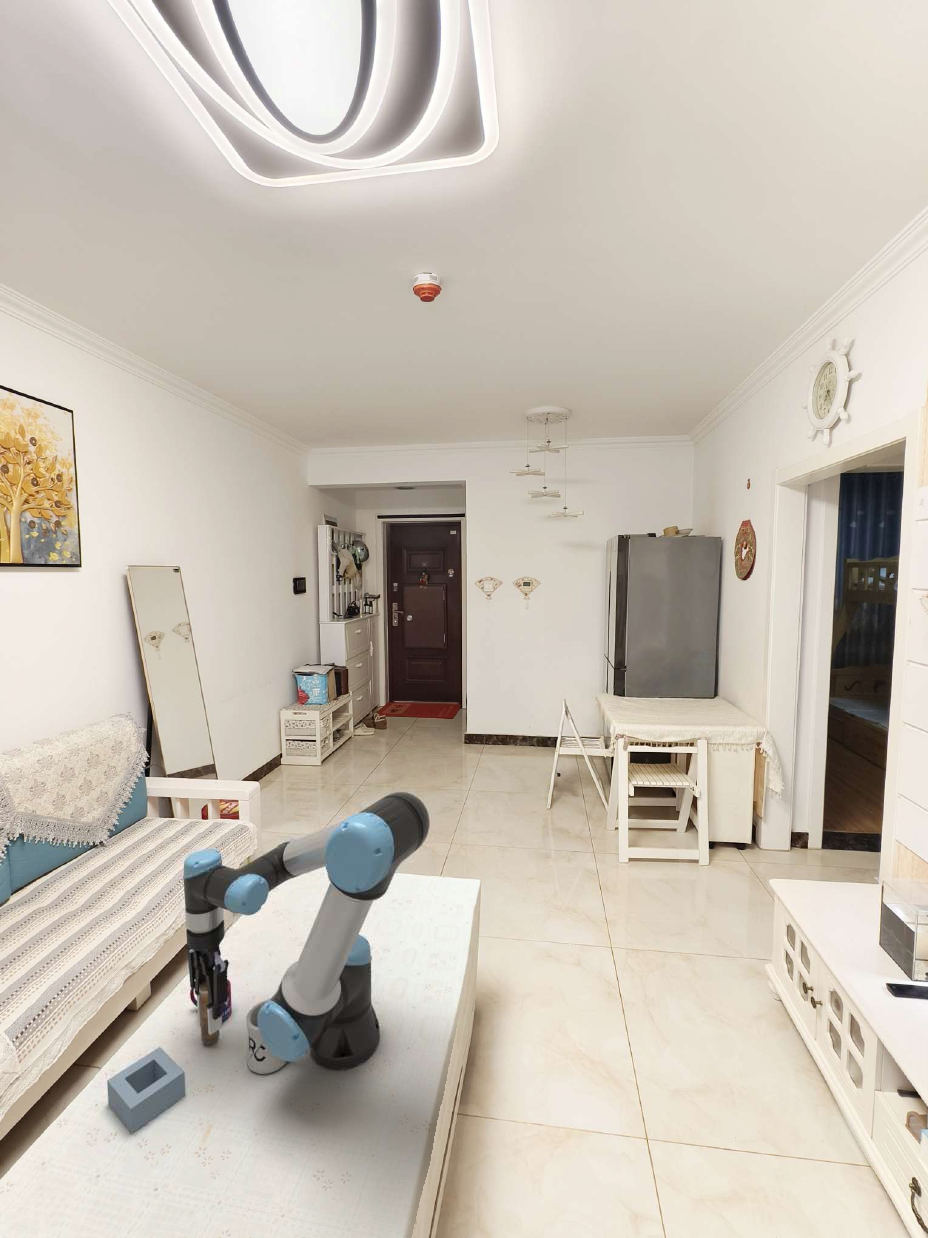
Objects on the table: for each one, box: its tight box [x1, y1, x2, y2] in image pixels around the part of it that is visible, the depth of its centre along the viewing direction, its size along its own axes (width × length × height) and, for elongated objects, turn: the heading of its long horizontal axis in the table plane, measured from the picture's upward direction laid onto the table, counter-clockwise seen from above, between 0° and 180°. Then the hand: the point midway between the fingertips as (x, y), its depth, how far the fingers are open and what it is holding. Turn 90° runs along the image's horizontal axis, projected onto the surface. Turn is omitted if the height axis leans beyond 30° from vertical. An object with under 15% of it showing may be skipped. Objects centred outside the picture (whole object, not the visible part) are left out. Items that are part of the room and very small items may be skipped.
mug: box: [245, 998, 288, 1075], centre depth 123 cm, size 12×9×10 cm
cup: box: [189, 978, 232, 1023], centre depth 136 cm, size 7×10×7 cm
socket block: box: [106, 1046, 186, 1135], centre depth 113 cm, size 10×10×5 cm
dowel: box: [199, 981, 220, 1044], centre depth 127 cm, size 4×4×12 cm
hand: (210, 1026), depth 128 cm, fingers closed on dowel, 3 cm apart
